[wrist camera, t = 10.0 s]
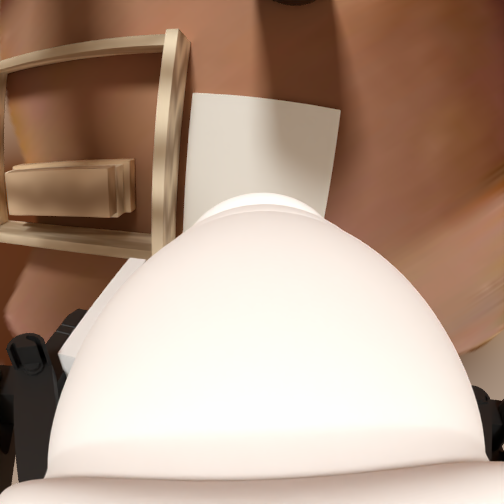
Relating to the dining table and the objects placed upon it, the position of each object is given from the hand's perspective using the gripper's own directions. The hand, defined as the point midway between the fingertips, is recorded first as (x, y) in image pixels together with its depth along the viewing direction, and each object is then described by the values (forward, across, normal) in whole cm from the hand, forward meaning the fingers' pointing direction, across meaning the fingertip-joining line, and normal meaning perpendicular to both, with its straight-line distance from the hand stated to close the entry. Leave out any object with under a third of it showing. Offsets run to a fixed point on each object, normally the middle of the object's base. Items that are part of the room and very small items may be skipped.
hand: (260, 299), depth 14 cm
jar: (+3, 0, 0) cm, 3 cm away
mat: (+24, 0, 0) cm, 24 cm away
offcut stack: (+24, -23, -1) cm, 33 cm away
